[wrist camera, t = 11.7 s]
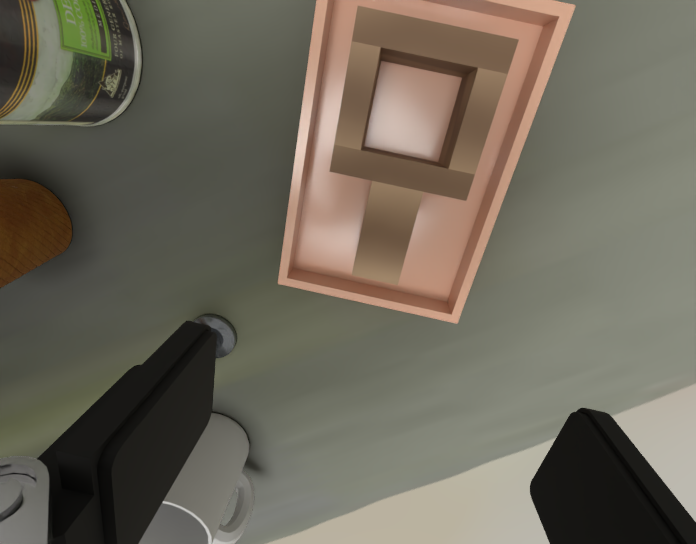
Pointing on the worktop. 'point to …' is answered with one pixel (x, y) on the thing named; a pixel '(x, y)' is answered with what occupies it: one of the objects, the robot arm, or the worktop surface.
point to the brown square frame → (401, 170)
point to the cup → (207, 491)
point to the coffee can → (67, 61)
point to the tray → (410, 153)
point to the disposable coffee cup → (29, 227)
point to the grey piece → (220, 333)
